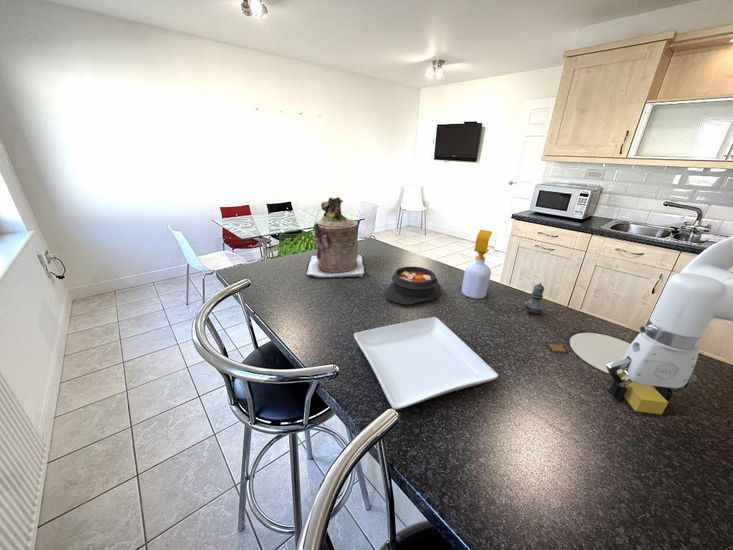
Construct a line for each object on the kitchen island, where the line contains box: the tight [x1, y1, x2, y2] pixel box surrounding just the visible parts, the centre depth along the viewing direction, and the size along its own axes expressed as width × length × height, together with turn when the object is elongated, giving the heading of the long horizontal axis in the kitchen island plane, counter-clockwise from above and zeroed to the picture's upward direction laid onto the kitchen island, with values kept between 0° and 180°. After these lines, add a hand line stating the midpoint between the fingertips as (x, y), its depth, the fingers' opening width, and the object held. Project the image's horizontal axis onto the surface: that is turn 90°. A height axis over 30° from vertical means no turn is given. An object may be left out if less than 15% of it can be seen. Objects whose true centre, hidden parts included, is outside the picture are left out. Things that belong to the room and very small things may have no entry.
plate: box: [569, 332, 631, 374], centre depth 79 cm, size 20×20×1 cm
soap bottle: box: [461, 229, 493, 300], centre depth 108 cm, size 9×9×25 cm
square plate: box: [353, 316, 499, 410], centre depth 75 cm, size 27×27×4 cm
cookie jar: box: [306, 196, 365, 279], centre depth 127 cm, size 25×25×32 cm
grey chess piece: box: [522, 282, 545, 315], centre depth 97 cm, size 6×6×12 cm
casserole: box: [384, 265, 441, 305], centre depth 110 cm, size 25×19×8 cm
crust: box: [547, 343, 568, 353], centre depth 81 cm, size 4×3×2 cm
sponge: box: [621, 375, 670, 419], centre depth 65 cm, size 5×8×5 cm, turn 171°
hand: (636, 399), depth 65 cm, fingers open, 8 cm apart
